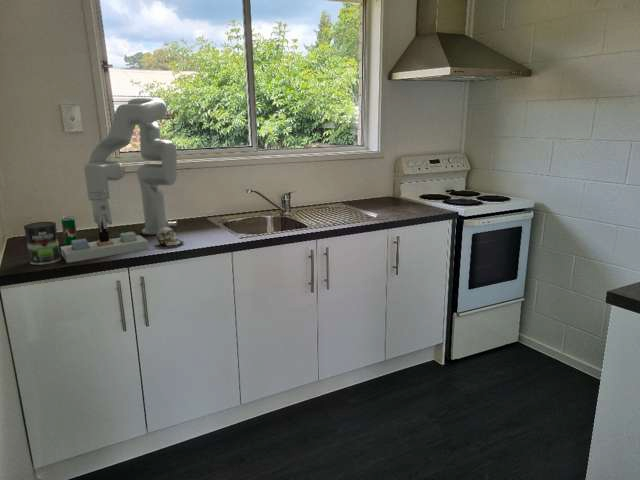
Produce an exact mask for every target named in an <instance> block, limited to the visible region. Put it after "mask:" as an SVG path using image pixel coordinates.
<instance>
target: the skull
mask: <svg viewBox="0 0 640 480" xmlns="http://www.w3.org/2000/svg"><path fill="white" fill-rule="evenodd" d="M177 236H178V235H177V233H176V232H175V230H174V229H173V228H171V227H170V228H169V227H164V228H162V229H161V230H160V231H159V232H158V233H157V234H156V240H157V242H158V243H159V244H155V245H153V247H154V248H156V249H166V248H174V247H178V246H181V245H183V244H184V241H182V240H179V238H178V237H177Z"/></svg>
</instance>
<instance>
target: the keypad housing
mask: <svg viewBox="0 0 640 480" xmlns="http://www.w3.org/2000/svg"><path fill="white" fill-rule="evenodd" d="M110 239H111V240H112V241H113V244H112V245H106V246H100V247H99V246H98V245H97V241H98V240H96V241H91V242H89V241H88V245H89V248H87V249H81V250H74V251H73V249H72V245H69V246H67V245H63V246H60V253H61V255H62V256H61V257H63V259H64V260H65V262H66V263H67V264H68V263H74V262H81V261H86V260H87V261H88V260H92V259H98V258H104V257H109V256H114V255H115V256H116V255H121V254H127V253H131V252H132V253H134V252H139V251H143V250H144V251H146V250H149V249H150V247H149V240H147V238H144V237H143V236H142V235H140V234H136V240H137V241H131V242H125V243H123V242H121V239H120V237H117V238H110Z"/></svg>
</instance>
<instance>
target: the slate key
mask: <svg viewBox="0 0 640 480" xmlns="http://www.w3.org/2000/svg"><path fill="white" fill-rule="evenodd" d="M71 243H72V249H73V251H74V250H81V249H87V248H89V245H88V243H89V241H88V239H86V238H80V239H78V240H72V241H71Z"/></svg>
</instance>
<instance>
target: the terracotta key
mask: <svg viewBox="0 0 640 480" xmlns="http://www.w3.org/2000/svg"><path fill="white" fill-rule="evenodd" d="M111 239H112V238H109V241H105V242H101V241H100V239H98V240H96V241H97V245H98V246H99V247H100V246H106V245H112V244H113V241H112V240H111Z"/></svg>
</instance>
